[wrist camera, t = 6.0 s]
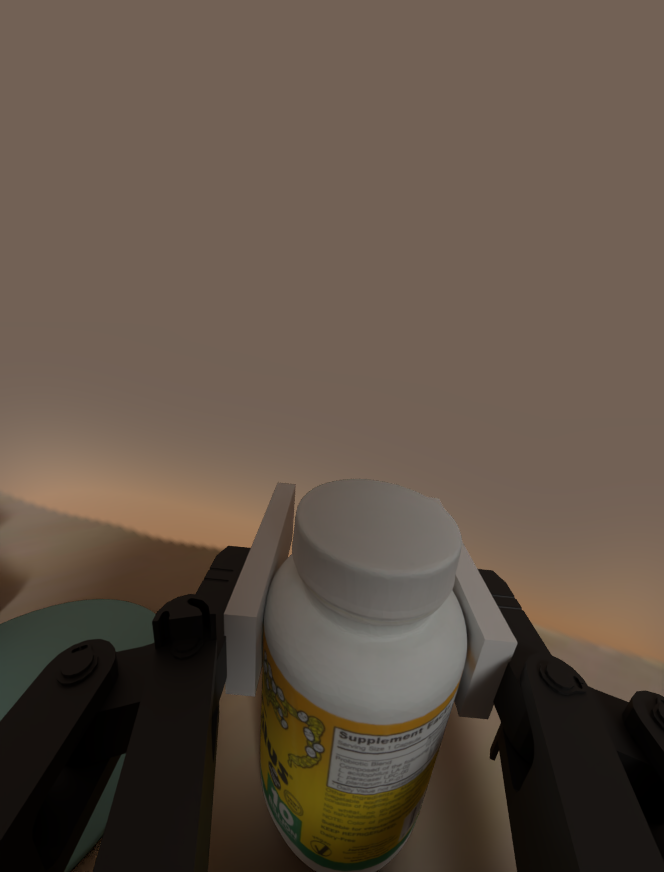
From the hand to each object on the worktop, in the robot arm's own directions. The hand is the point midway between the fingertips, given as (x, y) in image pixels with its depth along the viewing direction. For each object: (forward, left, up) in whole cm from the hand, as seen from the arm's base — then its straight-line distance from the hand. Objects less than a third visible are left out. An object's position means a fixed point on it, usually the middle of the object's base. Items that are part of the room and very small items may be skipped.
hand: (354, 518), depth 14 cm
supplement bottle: (0, +5, -6) cm, 8 cm away
